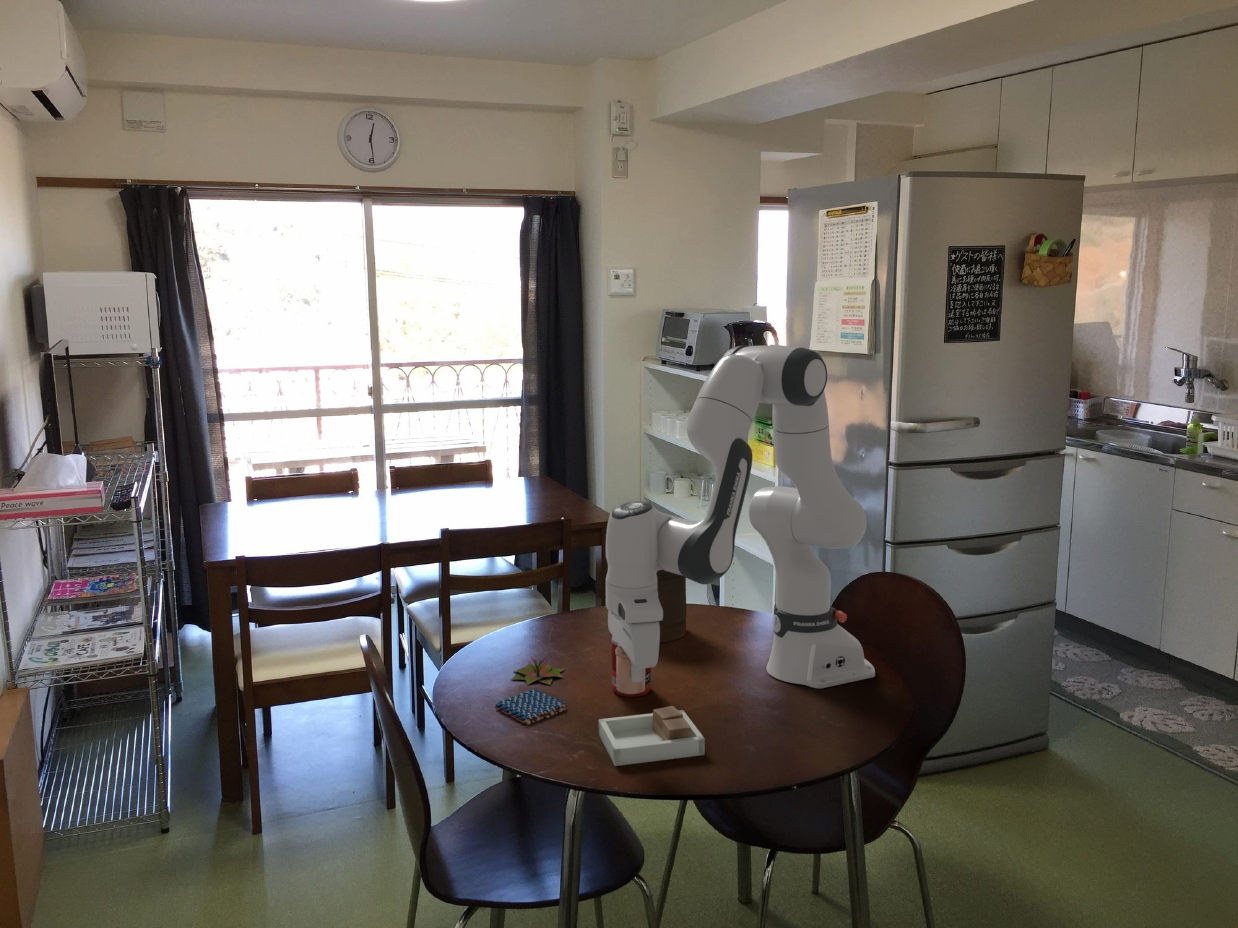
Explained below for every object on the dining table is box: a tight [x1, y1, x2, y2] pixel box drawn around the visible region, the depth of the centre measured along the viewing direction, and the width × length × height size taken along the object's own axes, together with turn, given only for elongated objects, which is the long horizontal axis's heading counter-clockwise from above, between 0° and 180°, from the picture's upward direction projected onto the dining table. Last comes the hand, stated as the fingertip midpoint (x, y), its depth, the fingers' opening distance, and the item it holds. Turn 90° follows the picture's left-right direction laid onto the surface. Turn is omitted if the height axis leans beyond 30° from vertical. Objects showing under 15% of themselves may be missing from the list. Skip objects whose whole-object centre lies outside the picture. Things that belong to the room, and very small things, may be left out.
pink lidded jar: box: [615, 646, 645, 694], centre depth 167 cm, size 5×5×7 cm
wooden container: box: [656, 569, 687, 643], centre depth 225 cm, size 15×15×22 cm
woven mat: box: [494, 688, 568, 725], centre depth 185 cm, size 10×11×2 cm
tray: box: [598, 709, 706, 767], centre depth 170 cm, size 16×12×3 cm
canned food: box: [611, 635, 652, 698], centre depth 193 cm, size 8×8×11 cm
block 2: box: [662, 718, 691, 741], centre depth 169 cm, size 4×4×4 cm
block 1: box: [652, 705, 683, 738], centre depth 173 cm, size 4×4×4 cm
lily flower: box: [509, 653, 566, 686], centre depth 201 cm, size 12×12×5 cm
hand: (631, 673), depth 167 cm, fingers closed on pink lidded jar, 5 cm apart
